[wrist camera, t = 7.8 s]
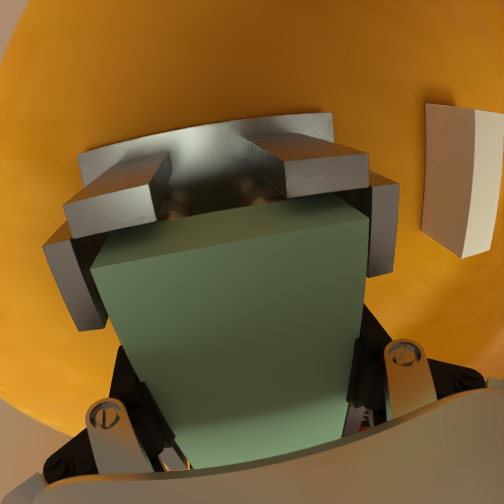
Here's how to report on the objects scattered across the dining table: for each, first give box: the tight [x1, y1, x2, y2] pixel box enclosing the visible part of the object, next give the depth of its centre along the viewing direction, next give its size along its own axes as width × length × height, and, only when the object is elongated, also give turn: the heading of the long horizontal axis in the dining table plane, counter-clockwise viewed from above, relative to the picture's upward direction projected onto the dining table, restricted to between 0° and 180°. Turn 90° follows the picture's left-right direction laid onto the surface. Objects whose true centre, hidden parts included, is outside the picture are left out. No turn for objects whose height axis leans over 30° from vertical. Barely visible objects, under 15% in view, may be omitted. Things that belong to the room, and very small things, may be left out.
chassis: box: [42, 112, 399, 470], centre depth 12 cm, size 14×10×6 cm
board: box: [90, 193, 369, 469], centre depth 9 cm, size 10×6×2 cm, turn 6°
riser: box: [421, 103, 504, 259], centre depth 13 cm, size 7×2×4 cm, turn 6°
